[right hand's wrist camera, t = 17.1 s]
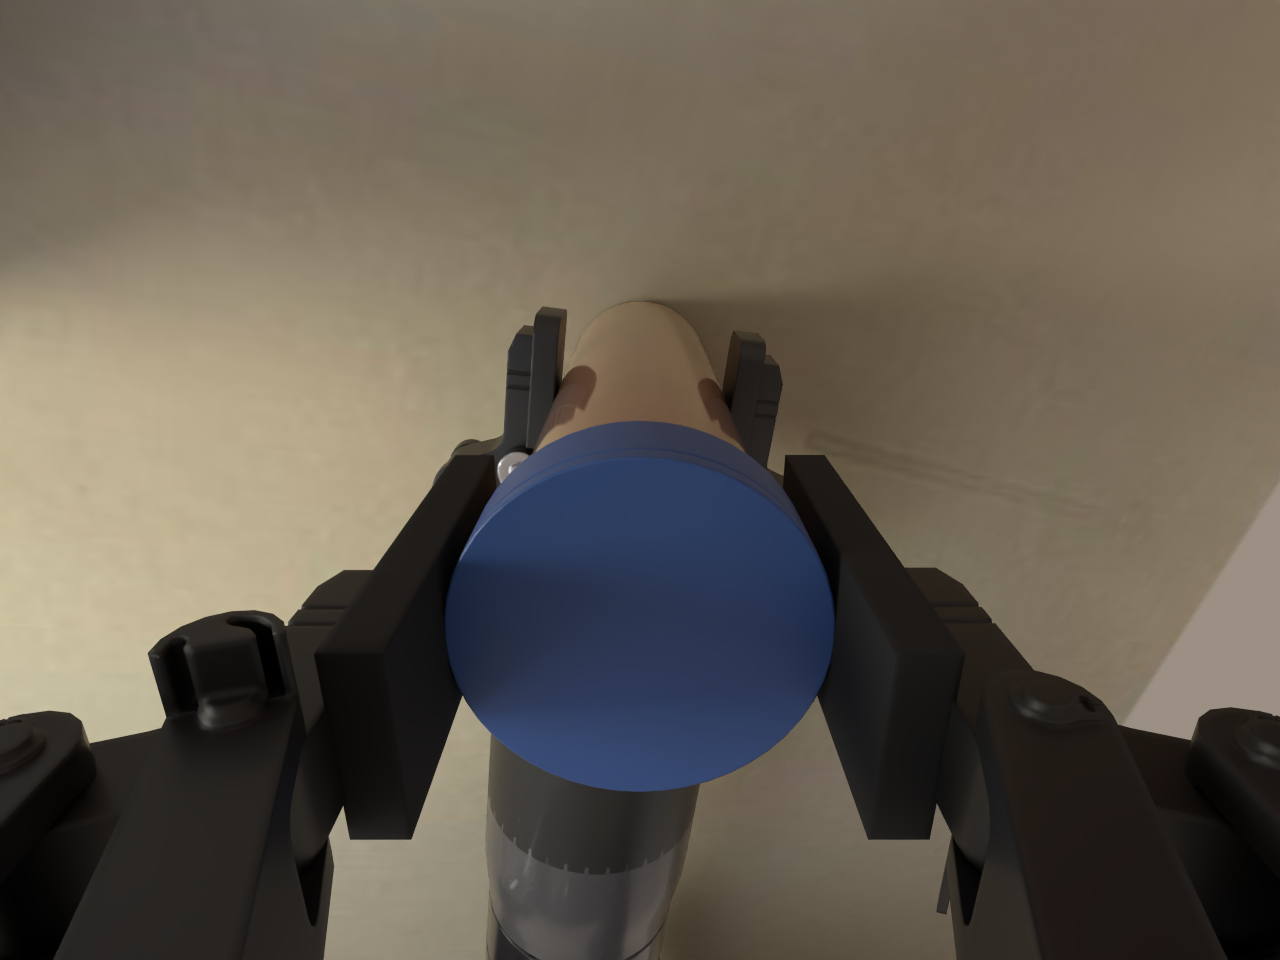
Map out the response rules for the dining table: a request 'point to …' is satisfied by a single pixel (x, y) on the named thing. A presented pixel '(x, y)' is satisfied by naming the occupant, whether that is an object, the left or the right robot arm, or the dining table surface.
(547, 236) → the dining table surface
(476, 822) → the dining table surface
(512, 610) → the lid
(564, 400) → the jar
